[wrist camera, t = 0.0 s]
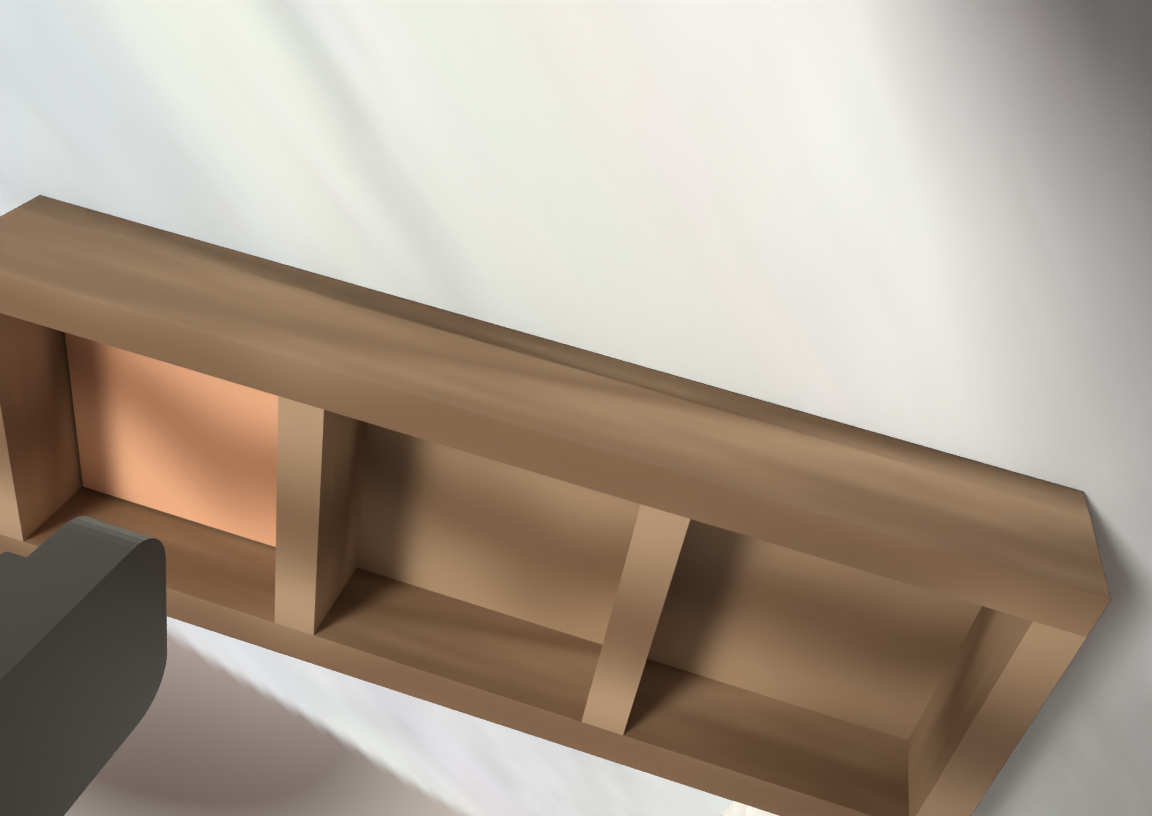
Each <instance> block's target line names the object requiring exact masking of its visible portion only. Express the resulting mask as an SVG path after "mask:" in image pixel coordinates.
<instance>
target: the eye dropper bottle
mask: <svg viewBox="0 0 1152 816" xmlns="http://www.w3.org/2000/svg"><path fill="white" fill-rule="evenodd" d="M721 816H778V815H775V814H772V813H769V812H766V811H763V810H760V809H757V808H754V807H751V806H748V805H745V804H742V803H739V802H735V801H733V802H732V803H731V804H730V806H729V807H728V808H727V809H726V810H725V811H724V812H723V814H722V815H721Z"/></svg>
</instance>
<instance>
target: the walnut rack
mask: <svg viewBox="0 0 1152 816" xmlns="http://www.w3.org/2000/svg"><path fill="white" fill-rule="evenodd" d="M80 516H87V517H90V518H93V519H96V520H99V521H102V522H105V523H109V524H112V525H115V526H118V527H121V528H124V529H127V530H131V531H134V532H137V533H140V534H143V535H146V536H149V537H152V538H155V539H158V540H160V541H161V542H162V544H163V546H164V549H165V553H166V613H167V616H168V617H171V618H174V619H177V620H180V621H183V622H186V623H189V624H193V625H196V626H199V627H202V628H205V629H208V630H211V631H214V632H217V633H220V634H223V635H226V636H229V637H232V638H235V639H239V640H242V641H245V642H248V643H251V644H254V645H257V646H260V647H263V648H266V649H269V650H272V651H275V652H278V653H281V654H285V655H288V656H291V657H294V658H297V659H300V660H303V661H306V662H309V663H312V664H315V665H318V666H321V667H324V668H328V669H331V670H334V671H337V672H340V673H343V674H346V675H349V676H352V677H355V678H358V679H361V680H364V681H367V682H370V683H374V684H377V685H380V686H383V687H386V688H389V689H392V690H395V691H398V692H401V693H404V694H407V695H410V696H413V697H416V698H420V699H423V700H426V701H429V702H432V703H435V704H438V705H441V706H444V707H447V708H450V709H453V710H456V711H459V712H462V713H466V714H469V715H472V716H475V717H478V718H481V719H484V720H487V721H490V722H493V723H496V724H499V725H502V726H505V727H508V728H512V729H515V730H518V731H521V732H524V733H527V734H530V735H533V736H536V737H539V738H542V739H545V740H548V741H551V742H555V743H558V744H561V745H564V746H567V747H570V748H573V749H576V750H579V751H582V752H585V753H588V754H591V755H594V756H597V757H601V758H604V759H607V760H610V761H613V762H616V763H619V764H622V765H625V766H628V767H631V768H634V769H637V770H640V771H643V772H647V773H650V774H653V775H656V776H659V777H662V778H665V779H668V780H671V781H674V782H677V783H680V784H683V785H686V786H689V787H693V788H696V789H699V790H702V791H705V792H708V793H711V794H714V795H717V796H720V797H723V798H726V799H729V800H732V801H735V802H739V803H742V804H745V805H748V806H751V807H754V808H757V809H760V810H763V811H766V812H769V813H772V814H775V815H778V816H971V815H972V813H973V811H974V810H975V808H976V807H977V805H978V804H979V802H980V801H981V799H982V798H983V796H984V794H985V793H986V791H987V790H988V788H989V787H990V785H991V784H992V782H993V781H994V779H995V778H996V776H997V774H998V773H999V771H1000V770H1001V768H1002V767H1003V765H1004V764H1005V762H1006V761H1007V759H1008V758H1009V756H1010V754H1011V753H1012V751H1013V750H1014V748H1015V747H1016V745H1017V744H1018V742H1019V741H1020V739H1021V738H1022V736H1023V734H1024V733H1025V731H1026V730H1027V728H1028V727H1029V725H1030V724H1031V722H1032V721H1033V719H1034V718H1035V716H1036V714H1037V713H1038V711H1039V710H1040V708H1041V707H1042V705H1043V704H1044V702H1045V701H1046V699H1047V697H1048V696H1049V694H1050V693H1051V691H1052V690H1053V688H1054V687H1055V685H1056V684H1057V682H1058V681H1059V679H1060V677H1061V676H1062V674H1063V673H1064V671H1065V670H1066V668H1067V667H1068V665H1069V664H1070V662H1071V661H1072V659H1073V657H1074V656H1075V654H1076V653H1077V651H1078V650H1079V648H1080V647H1081V645H1082V644H1083V642H1084V641H1085V639H1086V637H1087V636H1088V634H1089V633H1090V631H1091V630H1092V628H1093V627H1094V625H1095V624H1096V622H1097V621H1098V619H1099V617H1100V616H1101V614H1102V613H1103V611H1104V610H1105V608H1106V607H1107V605H1108V604H1109V602H1110V600H1111V597H1110V594H1109V590H1108V586H1107V582H1106V578H1105V574H1104V570H1103V566H1102V562H1101V558H1100V554H1099V550H1098V546H1097V542H1096V538H1095V534H1094V530H1093V526H1092V522H1091V518H1090V514H1089V510H1088V506H1087V503H1086V499H1085V495H1084V492H1083V491H1079V490H1076V489H1072V488H1069V487H1065V486H1062V485H1058V484H1055V483H1051V482H1048V481H1044V480H1040V479H1037V478H1033V477H1030V476H1026V475H1023V474H1019V473H1016V472H1012V471H1009V470H1005V469H1002V468H998V467H995V466H991V465H988V464H984V463H981V462H977V461H974V460H970V459H967V458H963V457H960V456H956V455H953V454H949V453H945V452H942V451H938V450H935V449H931V448H928V447H924V446H921V445H917V444H914V443H910V442H907V441H903V440H900V439H896V438H893V437H889V436H886V435H882V434H879V433H875V432H872V431H868V430H865V429H861V428H858V427H854V426H850V425H847V424H843V423H840V422H836V421H833V420H829V419H826V418H822V417H819V416H815V415H812V414H808V413H805V412H801V411H798V410H794V409H791V408H787V407H784V406H780V405H777V404H773V403H770V402H766V401H763V400H759V399H755V398H752V397H748V396H745V395H741V394H738V393H734V392H731V391H727V390H724V389H720V388H717V387H713V386H710V385H706V384H703V383H699V382H696V381H692V380H689V379H685V378H682V377H678V376H675V375H671V374H668V373H664V372H660V371H657V370H653V369H650V368H646V367H643V366H639V365H636V364H632V363H629V362H625V361H622V360H618V359H615V358H611V357H608V356H604V355H601V354H597V353H594V352H590V351H587V350H583V349H580V348H576V347H573V346H569V345H565V344H562V343H558V342H555V341H551V340H548V339H544V338H541V337H537V336H534V335H530V334H527V333H523V332H520V331H516V330H513V329H509V328H506V327H502V326H499V325H495V324H492V323H488V322H485V321H481V320H478V319H474V318H470V317H467V316H463V315H460V314H456V313H453V312H449V311H446V310H442V309H439V308H435V307H432V306H428V305H425V304H421V303H418V302H414V301H411V300H407V299H404V298H400V297H397V296H393V295H390V294H386V293H383V292H379V291H375V290H372V289H368V288H365V287H361V286H358V285H354V284H351V283H347V282H344V281H340V280H337V279H333V278H330V277H326V276H323V275H319V274H316V273H312V272H309V271H305V270H302V269H298V268H295V267H291V266H288V265H284V264H280V263H277V262H273V261H270V260H266V259H263V258H259V257H256V256H252V255H249V254H245V253H242V252H238V251H235V250H231V249H228V248H224V247H221V246H217V245H214V244H210V243H207V242H203V241H200V240H196V239H193V238H189V237H185V236H182V235H178V234H175V233H171V232H168V231H164V230H161V229H157V228H154V227H150V226H147V225H143V224H140V223H136V222H133V221H129V220H126V219H122V218H119V217H115V216H112V215H108V214H105V213H101V212H98V211H94V210H90V209H87V208H83V207H80V206H76V205H73V204H69V203H66V202H62V201H59V200H55V199H52V198H48V197H45V196H41V195H39V196H37V197H35V198H33V199H32V200H30V201H28V202H26V203H24V204H22V205H21V206H19V207H17V208H15V209H13V210H12V211H10V212H8V213H6V214H4V215H2V216H1V217H0V554H2V553H4V552H7V551H8V552H11V553H14V554H17V555H20V556H23V557H26V558H27V557H28V556H29V555H30V554H31V553H32V552H33V551H35V550H36V549H37V548H38V547H39V546H40V545H41V544H43V543H44V542H45V541H46V540H47V539H48V538H49V537H51V536H52V535H53V534H54V533H55V532H56V531H57V530H59V529H60V528H61V527H62V526H63V525H65V524H66V523H67V522H69V521H70V520H72V519H74V518H77V517H80Z"/></svg>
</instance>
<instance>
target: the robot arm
mask: <svg viewBox="0 0 1152 816" xmlns="http://www.w3.org/2000/svg"><path fill="white" fill-rule="evenodd" d="M166 659H167V613H166V553H165V549H164V546H163V544H162V542H161V541H160V540H158V539H155V538H152V537H149V536H146V535H143V534H140V533H137V532H134V531H131V530H127V529H124V528H121V527H118V526H115V525H112V524H109V523H105V522H102V521H99V520H96V519H93V518H90V517H87V516H80V517H77V518H74V519H72V520H70V521H69V522H67V523H66V524H65V525H63V526H62V527H61V528H60V529H59V530H57V531H56V532H55V533H54V534H53V535H52V536H51V537H49V538H48V539H47V540H46V541H45V542H44V543H43V544H41V545H40V546H39V547H38V548H37V549H36V550H35V551H33V552H32V553H31V554H30V555H29V556H28V557H27V558H26V557H23V556H20V555H17V554H14V553H11V552H8V551H7V552H4V553H2V554H0V816H64V815H65V813H66V812H67V811H68V810H69V809H70V807H71V806H72V805H73V804H74V802H75V801H76V800H77V799H78V797H79V796H80V795H81V794H82V792H83V791H84V790H85V789H86V787H87V786H88V785H89V784H90V783H91V781H92V780H93V779H94V778H95V776H96V775H97V774H98V773H99V772H100V770H101V769H102V768H103V767H104V765H105V764H106V763H107V762H108V760H109V759H110V758H111V757H112V755H113V754H114V753H115V751H117V749H118V748H119V747H120V745H121V744H122V743H123V742H124V741H125V739H126V738H127V737H128V736H129V734H130V733H131V732H132V731H133V729H134V728H135V727H136V726H137V724H138V723H139V722H140V721H141V719H142V718H143V716H144V715H145V713H146V712H147V710H148V709H149V707H150V705H151V703H152V701H153V699H154V697H155V695H156V693H157V691H158V688H159V686H160V683H161V680H162V677H163V674H164V670H165V665H166Z"/></svg>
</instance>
